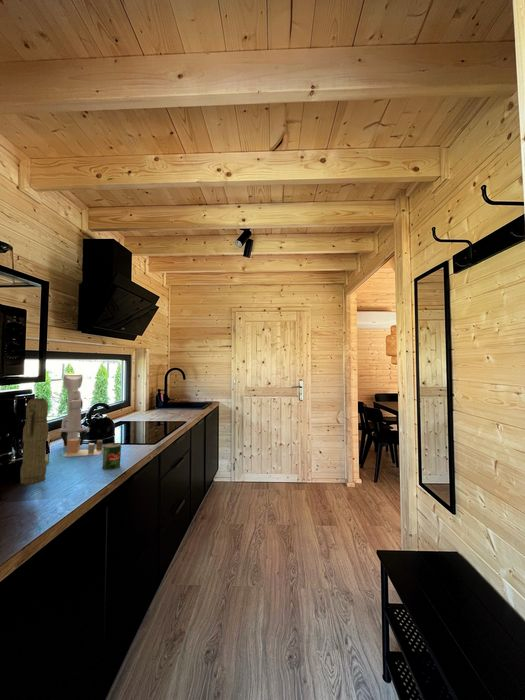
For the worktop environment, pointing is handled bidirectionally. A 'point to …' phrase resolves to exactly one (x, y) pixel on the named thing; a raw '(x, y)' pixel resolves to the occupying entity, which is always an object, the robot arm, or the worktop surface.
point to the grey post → (91, 448)
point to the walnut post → (99, 445)
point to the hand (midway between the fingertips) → (73, 445)
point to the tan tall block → (34, 442)
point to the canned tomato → (111, 456)
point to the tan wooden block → (73, 445)
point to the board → (83, 453)
